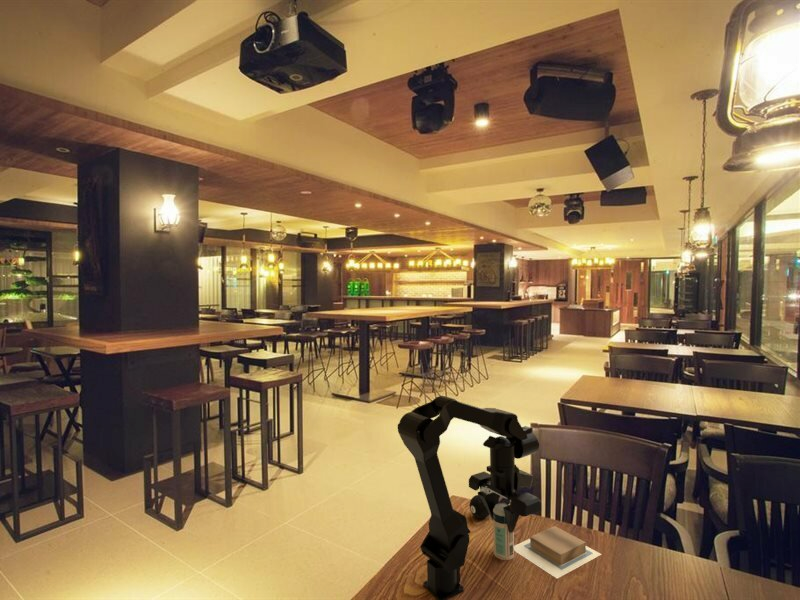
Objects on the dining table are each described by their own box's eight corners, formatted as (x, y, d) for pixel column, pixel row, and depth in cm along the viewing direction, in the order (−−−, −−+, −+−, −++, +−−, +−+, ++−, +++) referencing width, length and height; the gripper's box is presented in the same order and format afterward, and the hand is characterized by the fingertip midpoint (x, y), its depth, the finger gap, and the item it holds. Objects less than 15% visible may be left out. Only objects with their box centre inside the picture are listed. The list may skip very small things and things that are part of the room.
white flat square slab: (557, 581, 97) (557, 578, 97) (509, 550, 109) (509, 547, 109) (601, 556, 105) (601, 553, 105) (553, 530, 117) (553, 527, 117)
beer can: (512, 550, 109) (511, 502, 108) (515, 562, 104) (514, 512, 104) (492, 550, 109) (491, 501, 109) (494, 562, 104) (494, 511, 104)
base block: (561, 565, 101) (560, 554, 101) (530, 546, 109) (530, 536, 109) (585, 552, 106) (585, 542, 106) (554, 535, 114) (554, 525, 114)
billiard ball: (496, 518, 124) (495, 497, 124) (480, 524, 121) (479, 503, 121) (481, 509, 129) (480, 489, 129) (465, 515, 126) (465, 494, 126)
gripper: (557, 468, 102) (557, 534, 103) (498, 445, 118) (499, 503, 118) (523, 479, 96) (524, 550, 97) (466, 453, 112) (467, 514, 113)
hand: (503, 527), depth 106 cm, fingers closed on beer can, 5 cm apart
